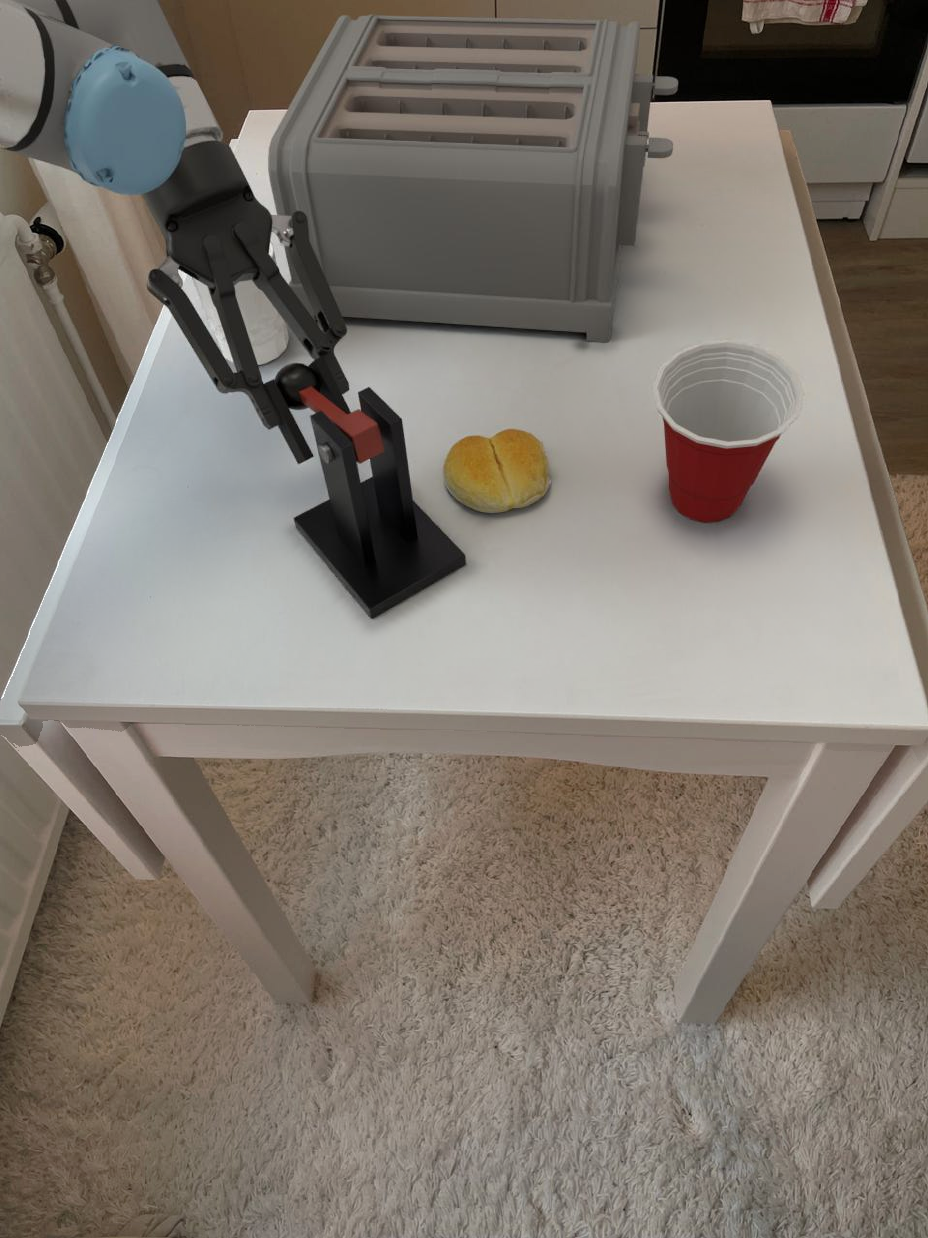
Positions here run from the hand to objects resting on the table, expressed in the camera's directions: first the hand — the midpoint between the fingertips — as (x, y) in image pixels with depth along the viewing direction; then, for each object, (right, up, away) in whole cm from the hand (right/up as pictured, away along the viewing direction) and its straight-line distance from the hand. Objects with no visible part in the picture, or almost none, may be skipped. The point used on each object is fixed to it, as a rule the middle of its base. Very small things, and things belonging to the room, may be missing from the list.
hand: (329, 448), depth 76 cm
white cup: (-10, +13, +19) cm, 25 cm away
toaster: (+14, +27, +27) cm, 40 cm away
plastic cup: (+31, -4, +4) cm, 31 cm away
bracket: (+4, -8, +2) cm, 9 cm away
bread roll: (+14, -2, +6) cm, 15 cm away
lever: (+1, +1, -3) cm, 3 cm away
